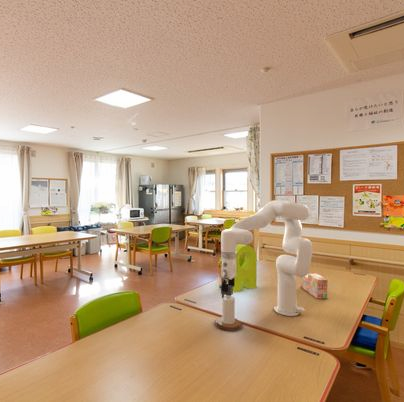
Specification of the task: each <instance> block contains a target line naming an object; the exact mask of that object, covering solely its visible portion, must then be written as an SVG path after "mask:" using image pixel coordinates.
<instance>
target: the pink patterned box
mask: <svg viewBox="0 0 404 402" xmlns="http://www.w3.org/2000/svg"><path fill="white" fill-rule="evenodd" d="M328 281H329V280H328V278H325V277H324V276H322V275H320V274H318V273H308V274H307V275H306V276H304V277H300V287H301V289H303V290H304V291H306V292H307V293H309V294H310V295H311V296H313V297H314V298H315V299H316V300H327V299H328V283H329V282H328Z"/></svg>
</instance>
